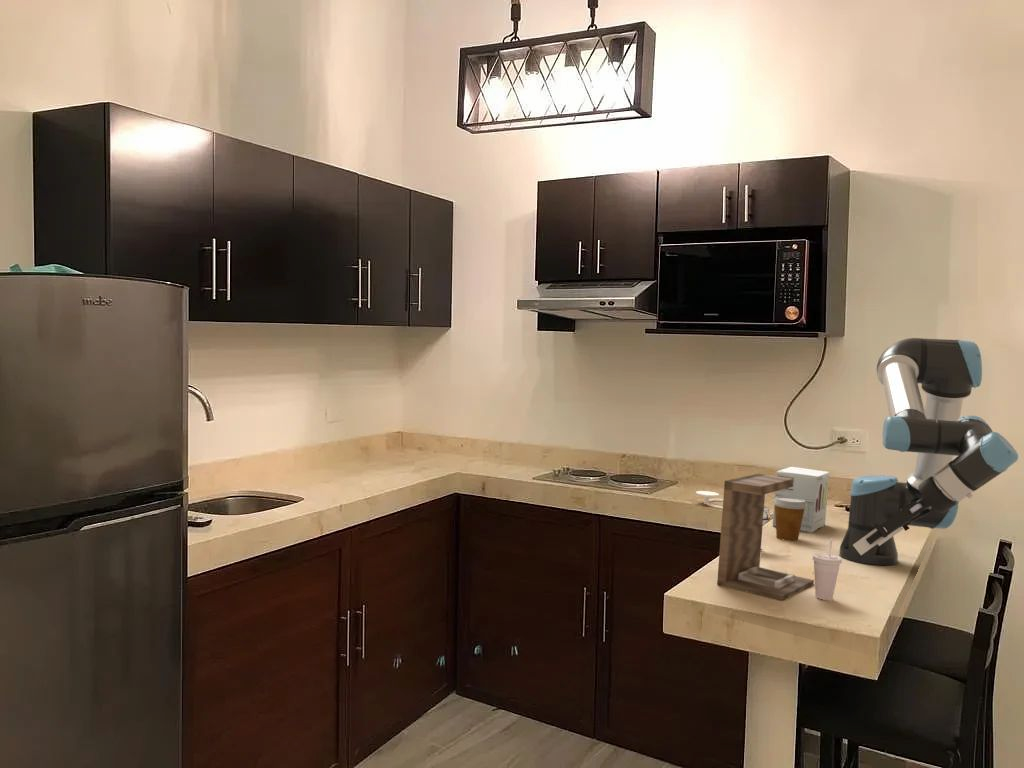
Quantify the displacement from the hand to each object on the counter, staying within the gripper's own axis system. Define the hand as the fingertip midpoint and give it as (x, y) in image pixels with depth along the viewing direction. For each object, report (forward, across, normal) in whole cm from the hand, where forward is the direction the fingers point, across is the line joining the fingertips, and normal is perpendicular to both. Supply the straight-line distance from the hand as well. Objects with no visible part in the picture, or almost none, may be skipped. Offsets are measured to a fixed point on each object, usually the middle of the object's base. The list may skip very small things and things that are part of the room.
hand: (866, 545), depth 195 cm
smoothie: (+16, +1, -4) cm, 17 cm away
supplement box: (+41, +79, +21) cm, 91 cm away
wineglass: (+38, +34, +18) cm, 54 cm away
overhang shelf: (+26, +1, +6) cm, 27 cm away
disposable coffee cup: (+37, +56, +17) cm, 70 cm away
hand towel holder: (+63, +91, +43) cm, 119 cm away
